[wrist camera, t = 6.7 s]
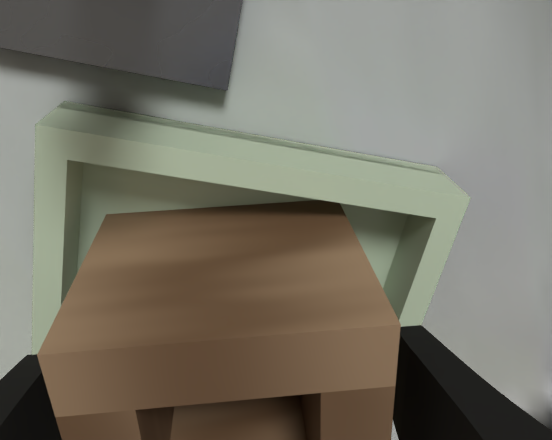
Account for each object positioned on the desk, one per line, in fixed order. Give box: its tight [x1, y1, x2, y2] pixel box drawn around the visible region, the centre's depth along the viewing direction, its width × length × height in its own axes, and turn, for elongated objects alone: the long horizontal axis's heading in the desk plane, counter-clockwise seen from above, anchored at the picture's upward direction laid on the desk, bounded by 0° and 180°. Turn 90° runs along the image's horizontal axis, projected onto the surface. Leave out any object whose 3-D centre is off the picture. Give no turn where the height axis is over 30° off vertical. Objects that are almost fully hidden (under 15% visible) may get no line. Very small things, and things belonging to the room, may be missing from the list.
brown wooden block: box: [37, 200, 401, 440], centre depth 11 cm, size 6×6×5 cm
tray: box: [32, 101, 471, 355], centre depth 13 cm, size 9×9×2 cm
